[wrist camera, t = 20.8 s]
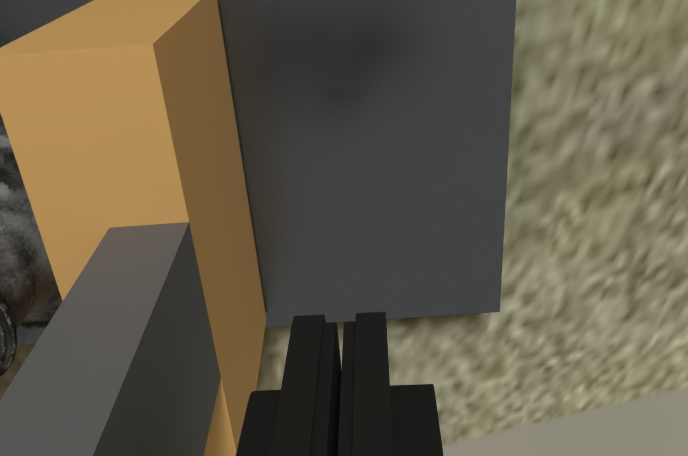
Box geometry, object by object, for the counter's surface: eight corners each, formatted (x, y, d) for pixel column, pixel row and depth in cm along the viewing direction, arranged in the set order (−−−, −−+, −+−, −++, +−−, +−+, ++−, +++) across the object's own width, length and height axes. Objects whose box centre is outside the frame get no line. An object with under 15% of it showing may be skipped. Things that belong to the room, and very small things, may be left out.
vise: (-33, 316, 25) (-202, 519, 17) (-171, -12, 19) (-518, 62, 11) (487, 280, 25) (562, 470, 17) (501, -64, 19) (624, -24, 11)
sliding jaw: (180, 325, 23) (8, 837, 11) (104, -6, 18) (-407, 253, 5) (266, 319, 23) (192, 828, 10) (215, -14, 17) (-48, 228, 5)
